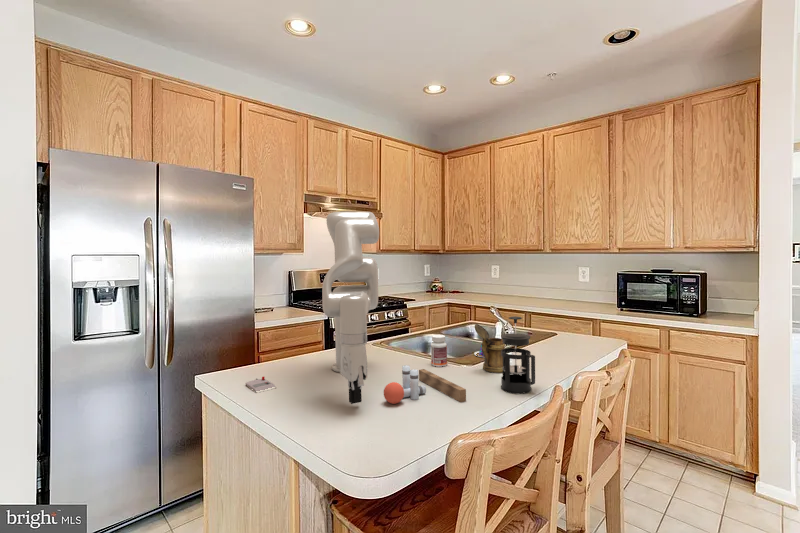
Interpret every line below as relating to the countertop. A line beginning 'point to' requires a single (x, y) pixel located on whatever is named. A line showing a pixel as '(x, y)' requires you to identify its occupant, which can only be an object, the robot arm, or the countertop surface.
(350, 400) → the robot arm
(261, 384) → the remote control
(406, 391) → the front pin
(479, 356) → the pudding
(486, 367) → the wooden mug
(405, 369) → the pin
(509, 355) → the french press
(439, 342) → the pill bottle
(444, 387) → the back wall
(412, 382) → the pin
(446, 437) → the countertop surface
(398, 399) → the ball
